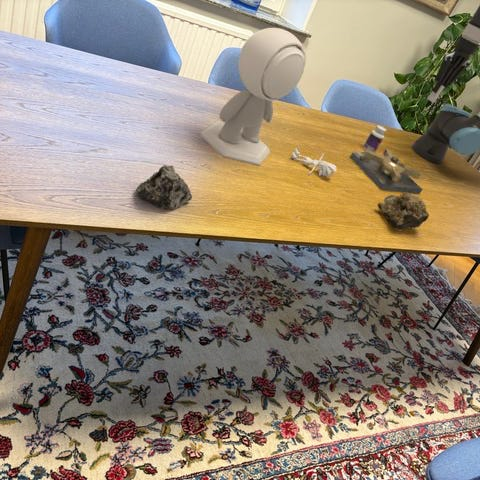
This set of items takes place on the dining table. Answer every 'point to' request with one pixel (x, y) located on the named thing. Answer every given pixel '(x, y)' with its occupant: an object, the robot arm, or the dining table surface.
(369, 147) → the pill bottle
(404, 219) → the mineral specimen
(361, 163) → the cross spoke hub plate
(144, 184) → the rock
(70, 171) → the dining table surface
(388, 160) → the four spoke knob plate
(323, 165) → the figurine
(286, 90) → the big headed doll
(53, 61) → the dining table surface
